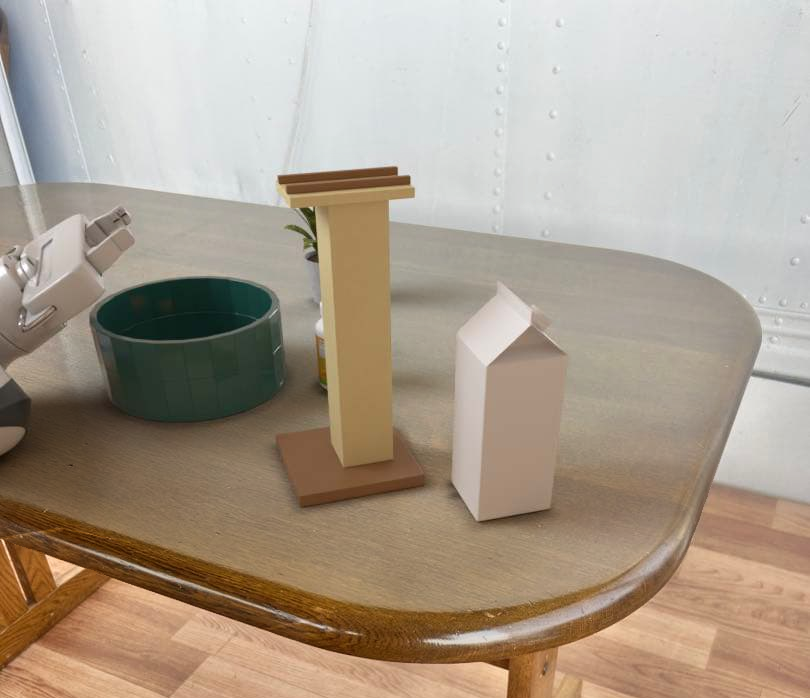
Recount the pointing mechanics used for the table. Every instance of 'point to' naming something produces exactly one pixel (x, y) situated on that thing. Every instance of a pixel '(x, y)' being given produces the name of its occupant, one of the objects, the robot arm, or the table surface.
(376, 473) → the stand
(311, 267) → the house plant
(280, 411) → the table surface
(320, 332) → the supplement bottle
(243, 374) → the pot
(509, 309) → the milk carton
